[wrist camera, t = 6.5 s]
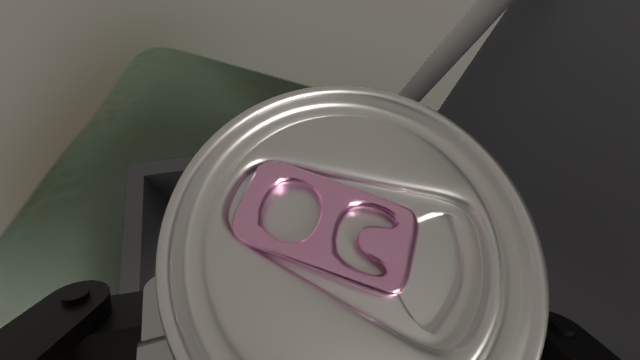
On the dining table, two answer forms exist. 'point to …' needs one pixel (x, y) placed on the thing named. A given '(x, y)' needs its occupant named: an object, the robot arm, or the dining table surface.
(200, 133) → the dining table surface
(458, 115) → the equipment case
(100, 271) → the dining table surface
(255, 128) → the beverage can
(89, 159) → the dining table surface
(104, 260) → the dining table surface
